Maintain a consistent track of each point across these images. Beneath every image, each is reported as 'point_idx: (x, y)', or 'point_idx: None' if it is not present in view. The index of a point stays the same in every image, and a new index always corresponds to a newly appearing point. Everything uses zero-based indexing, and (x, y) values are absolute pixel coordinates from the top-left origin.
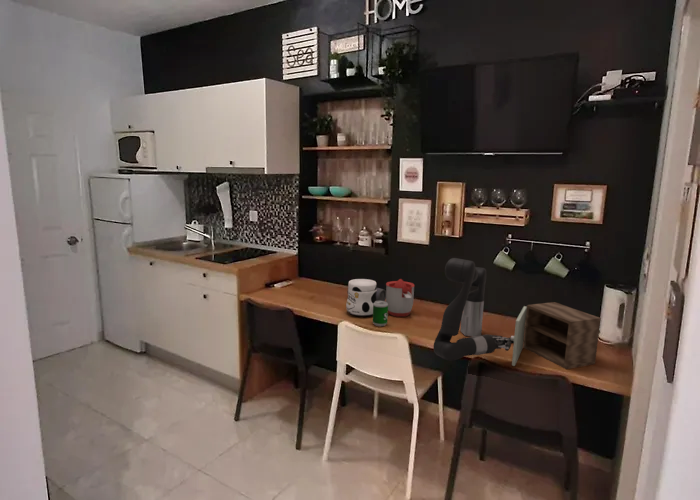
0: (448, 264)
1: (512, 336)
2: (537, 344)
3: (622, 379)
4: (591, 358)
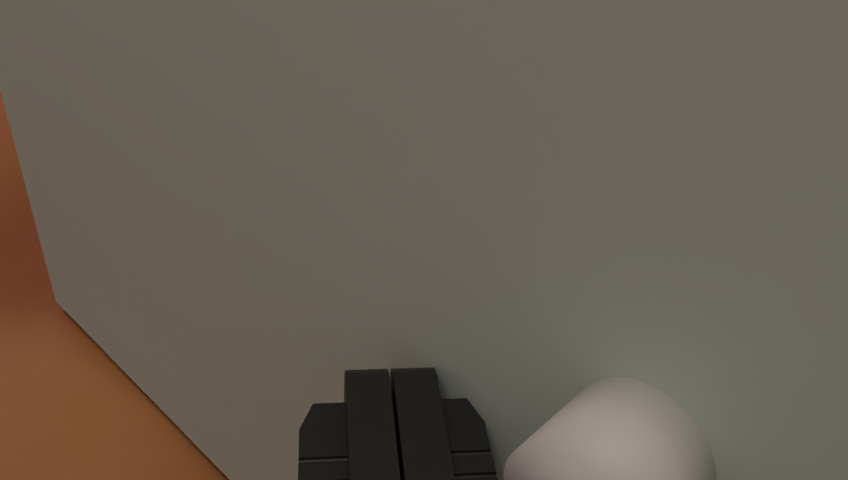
0: None
1: (646, 464)
2: None
3: None
4: None
